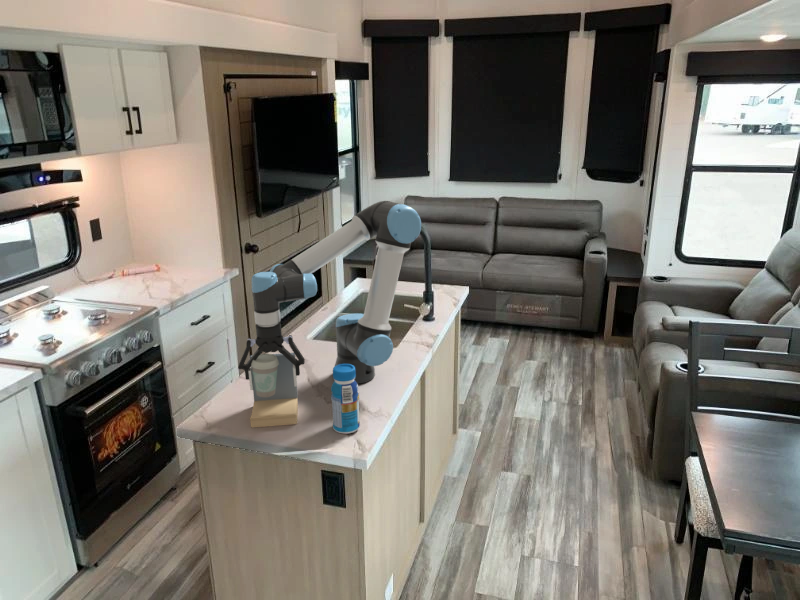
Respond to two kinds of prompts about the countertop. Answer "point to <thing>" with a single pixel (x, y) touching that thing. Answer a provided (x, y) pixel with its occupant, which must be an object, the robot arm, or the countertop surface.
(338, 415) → the beverage bottle
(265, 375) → the coffee cup
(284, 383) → the grey board on stand
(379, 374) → the countertop surface
